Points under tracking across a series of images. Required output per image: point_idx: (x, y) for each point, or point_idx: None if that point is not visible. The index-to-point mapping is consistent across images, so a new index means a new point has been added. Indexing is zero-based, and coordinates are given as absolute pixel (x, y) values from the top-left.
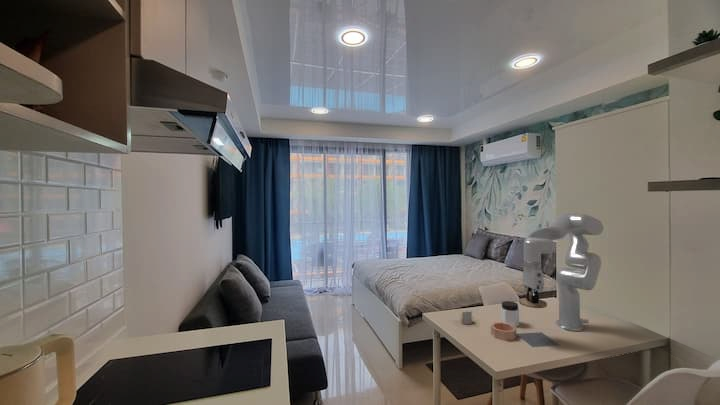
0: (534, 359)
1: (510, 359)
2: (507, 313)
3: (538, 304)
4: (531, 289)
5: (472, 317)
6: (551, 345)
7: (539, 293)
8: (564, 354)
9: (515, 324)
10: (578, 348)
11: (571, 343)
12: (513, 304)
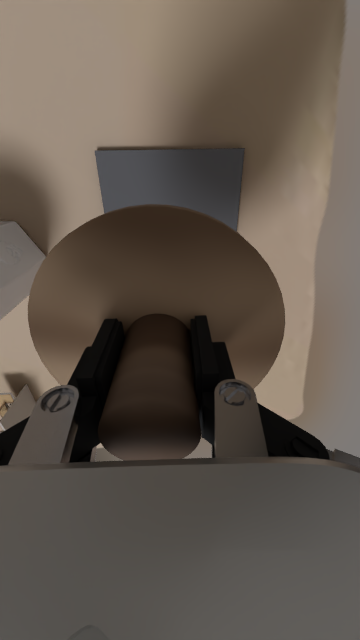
0: (296, 319)
1: (274, 376)
2: (3, 310)
3: (241, 335)
4: (71, 435)
5: (8, 396)
6: (237, 201)
7: (294, 429)
8: (306, 190)
9: (33, 255)
10: (284, 52)
11: (226, 45)
12: None
